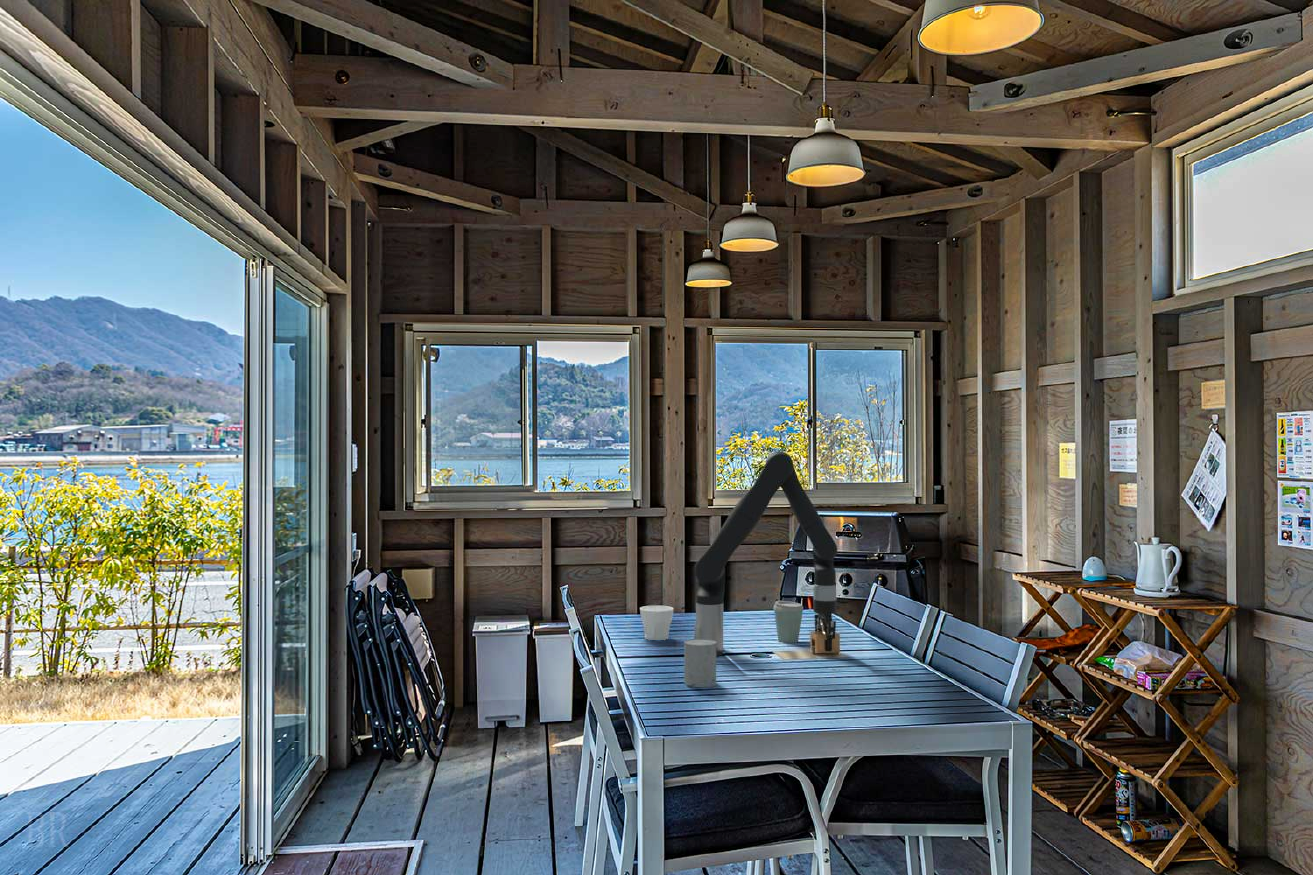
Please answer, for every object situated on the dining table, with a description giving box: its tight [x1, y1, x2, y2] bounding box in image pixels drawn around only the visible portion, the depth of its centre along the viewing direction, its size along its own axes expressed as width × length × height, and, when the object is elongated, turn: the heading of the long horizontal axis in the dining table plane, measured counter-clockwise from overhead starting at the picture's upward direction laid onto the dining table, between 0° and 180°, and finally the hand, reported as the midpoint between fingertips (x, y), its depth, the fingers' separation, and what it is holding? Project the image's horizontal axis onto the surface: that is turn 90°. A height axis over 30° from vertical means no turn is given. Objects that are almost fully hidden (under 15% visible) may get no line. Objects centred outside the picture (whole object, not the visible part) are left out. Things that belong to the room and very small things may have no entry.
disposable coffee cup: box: [773, 600, 804, 644], centre depth 333 cm, size 11×11×15 cm
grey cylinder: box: [683, 638, 717, 688], centre depth 278 cm, size 10×10×12 cm
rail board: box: [771, 646, 848, 660], centre depth 311 cm, size 22×12×4 cm, turn 100°
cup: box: [639, 605, 675, 641], centre depth 343 cm, size 12×12×11 cm
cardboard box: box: [809, 630, 841, 653], centre depth 312 cm, size 8×6×6 cm
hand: (824, 648), depth 312 cm, fingers closed on cardboard box, 6 cm apart
